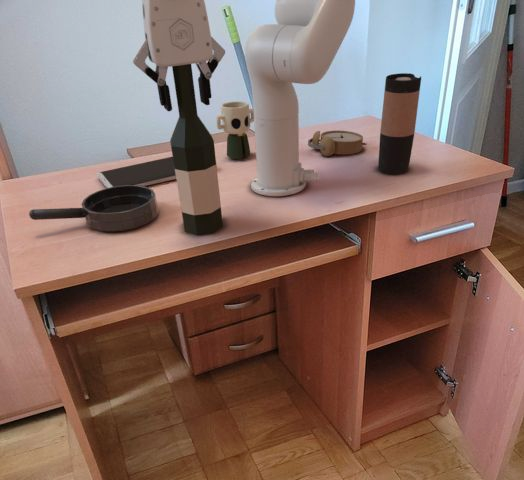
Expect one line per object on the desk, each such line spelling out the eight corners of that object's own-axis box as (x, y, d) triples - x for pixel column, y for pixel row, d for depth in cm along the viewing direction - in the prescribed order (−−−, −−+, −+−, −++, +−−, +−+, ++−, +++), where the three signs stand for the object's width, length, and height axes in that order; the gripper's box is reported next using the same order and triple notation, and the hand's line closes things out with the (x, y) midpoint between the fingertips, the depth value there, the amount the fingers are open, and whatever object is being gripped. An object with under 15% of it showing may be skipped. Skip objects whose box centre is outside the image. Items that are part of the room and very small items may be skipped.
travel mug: (373, 173, 119) (382, 80, 106) (380, 163, 124) (389, 72, 112) (406, 176, 116) (419, 81, 104) (411, 165, 122) (424, 73, 109)
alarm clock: (372, 140, 129) (319, 138, 124) (367, 159, 132) (316, 158, 127) (352, 129, 137) (302, 126, 133) (348, 148, 140) (299, 146, 135)
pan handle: (87, 214, 104) (82, 198, 102) (89, 218, 103) (84, 201, 101) (33, 225, 101) (27, 209, 99) (34, 229, 100) (27, 212, 98)
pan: (149, 198, 114) (146, 180, 112) (166, 223, 103) (162, 203, 101) (83, 212, 110) (77, 193, 107) (92, 239, 99) (86, 219, 97)
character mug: (227, 165, 129) (222, 111, 121) (214, 158, 134) (208, 105, 125) (263, 156, 133) (260, 103, 125) (249, 149, 138) (246, 98, 130)
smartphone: (216, 171, 126) (215, 164, 125) (111, 195, 117) (109, 188, 116) (196, 157, 135) (195, 150, 134) (97, 178, 126) (96, 172, 125)
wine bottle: (217, 236, 97) (197, 61, 79) (177, 234, 99) (147, 62, 80) (228, 218, 104) (211, 51, 85) (190, 216, 105) (165, 53, 86)
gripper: (117, -16, 71) (143, 119, 82) (231, -26, 76) (240, 103, 87) (108, -18, 76) (133, 109, 88) (215, -27, 81) (225, 95, 92)
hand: (186, 105), depth 87 cm, fingers open, 6 cm apart
